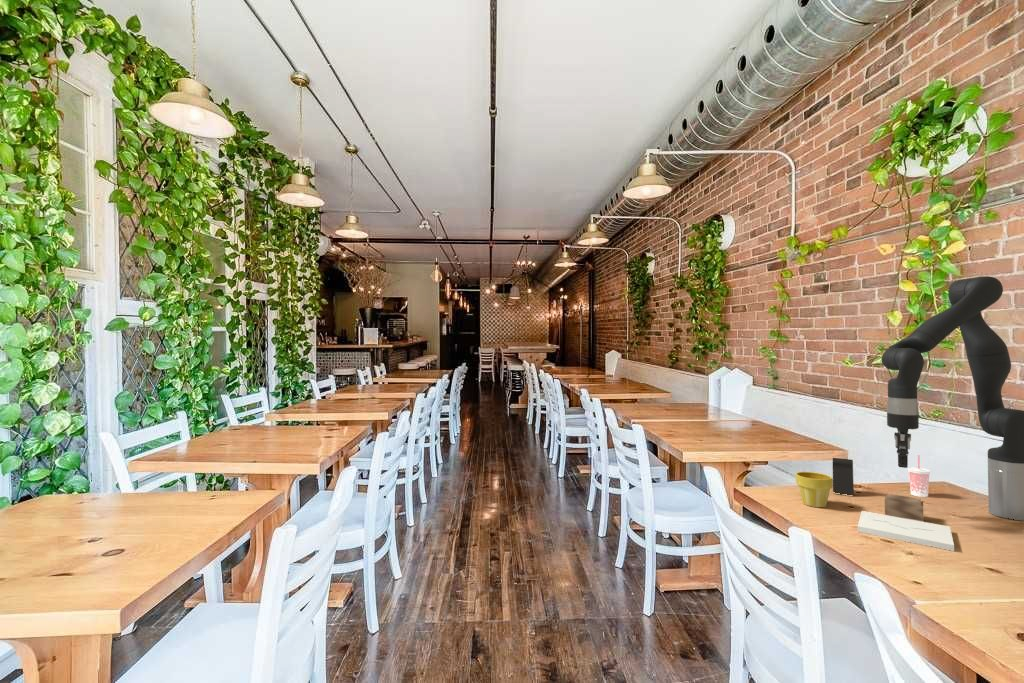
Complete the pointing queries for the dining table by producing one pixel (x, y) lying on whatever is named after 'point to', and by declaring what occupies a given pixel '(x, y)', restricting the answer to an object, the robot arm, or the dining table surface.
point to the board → (906, 530)
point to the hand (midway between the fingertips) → (902, 464)
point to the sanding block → (904, 507)
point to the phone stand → (843, 476)
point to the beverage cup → (919, 480)
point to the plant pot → (814, 488)
